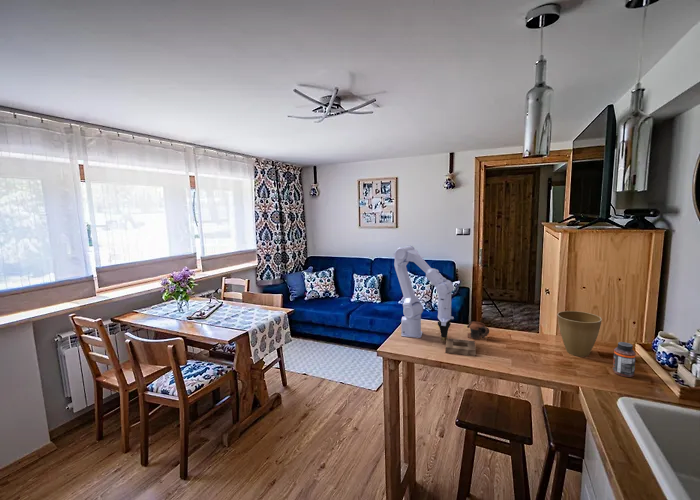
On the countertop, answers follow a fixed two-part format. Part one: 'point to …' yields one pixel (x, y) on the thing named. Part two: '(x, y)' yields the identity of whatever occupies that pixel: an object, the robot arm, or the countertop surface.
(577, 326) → the plant pot
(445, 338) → the pin
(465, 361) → the countertop surface
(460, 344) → the slot block
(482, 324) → the pottery mug
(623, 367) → the supplement bottle
